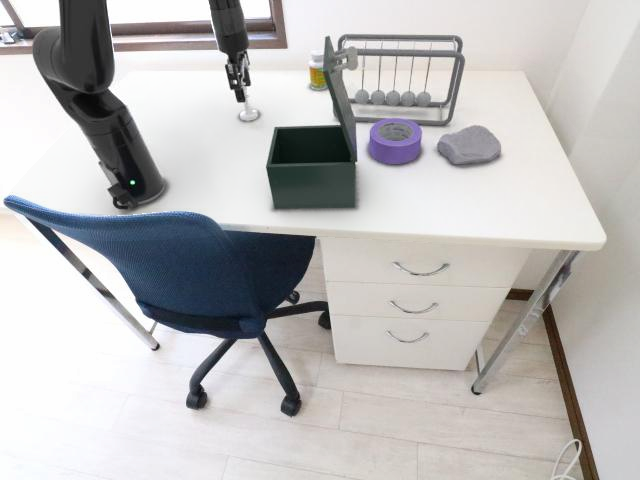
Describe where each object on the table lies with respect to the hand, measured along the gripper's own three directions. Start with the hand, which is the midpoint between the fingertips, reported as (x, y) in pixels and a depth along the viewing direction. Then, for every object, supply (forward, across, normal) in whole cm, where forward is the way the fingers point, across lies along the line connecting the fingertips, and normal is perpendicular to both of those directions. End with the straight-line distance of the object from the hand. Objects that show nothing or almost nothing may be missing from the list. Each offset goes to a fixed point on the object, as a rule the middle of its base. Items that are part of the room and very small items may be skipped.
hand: (244, 93), depth 98 cm
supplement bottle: (+7, -16, +19) cm, 25 cm away
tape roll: (+7, +18, +38) cm, 42 cm away
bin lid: (-13, +31, +25) cm, 42 cm away
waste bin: (+6, +31, +20) cm, 37 cm away
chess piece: (+7, 0, 0) cm, 7 cm away
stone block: (+7, +20, +55) cm, 59 cm away
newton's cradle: (+7, +1, +39) cm, 39 cm away
